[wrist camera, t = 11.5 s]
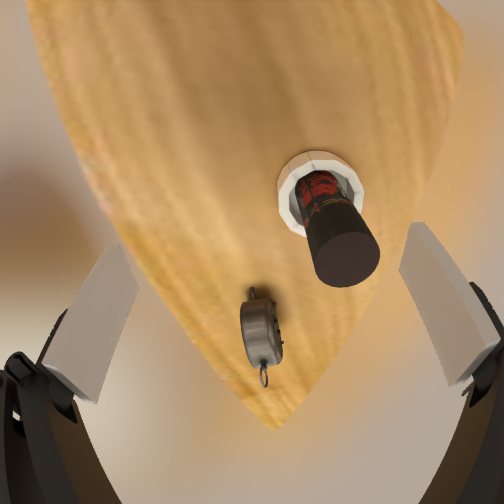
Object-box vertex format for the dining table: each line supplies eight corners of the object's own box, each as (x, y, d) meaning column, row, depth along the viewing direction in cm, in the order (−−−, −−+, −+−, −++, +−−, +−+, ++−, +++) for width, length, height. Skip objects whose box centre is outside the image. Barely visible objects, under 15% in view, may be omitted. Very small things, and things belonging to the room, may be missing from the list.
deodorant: (346, 178, 34) (392, 244, 22) (327, 216, 37) (357, 293, 25) (305, 162, 33) (334, 222, 21) (287, 202, 36) (302, 278, 24)
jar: (275, 151, 33) (277, 161, 30) (355, 150, 32) (366, 160, 29) (278, 223, 39) (280, 240, 36) (349, 221, 38) (358, 236, 35)
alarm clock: (240, 283, 46) (233, 370, 32) (272, 278, 45) (276, 365, 32) (256, 325, 52) (254, 403, 39) (284, 321, 51) (289, 399, 38)
